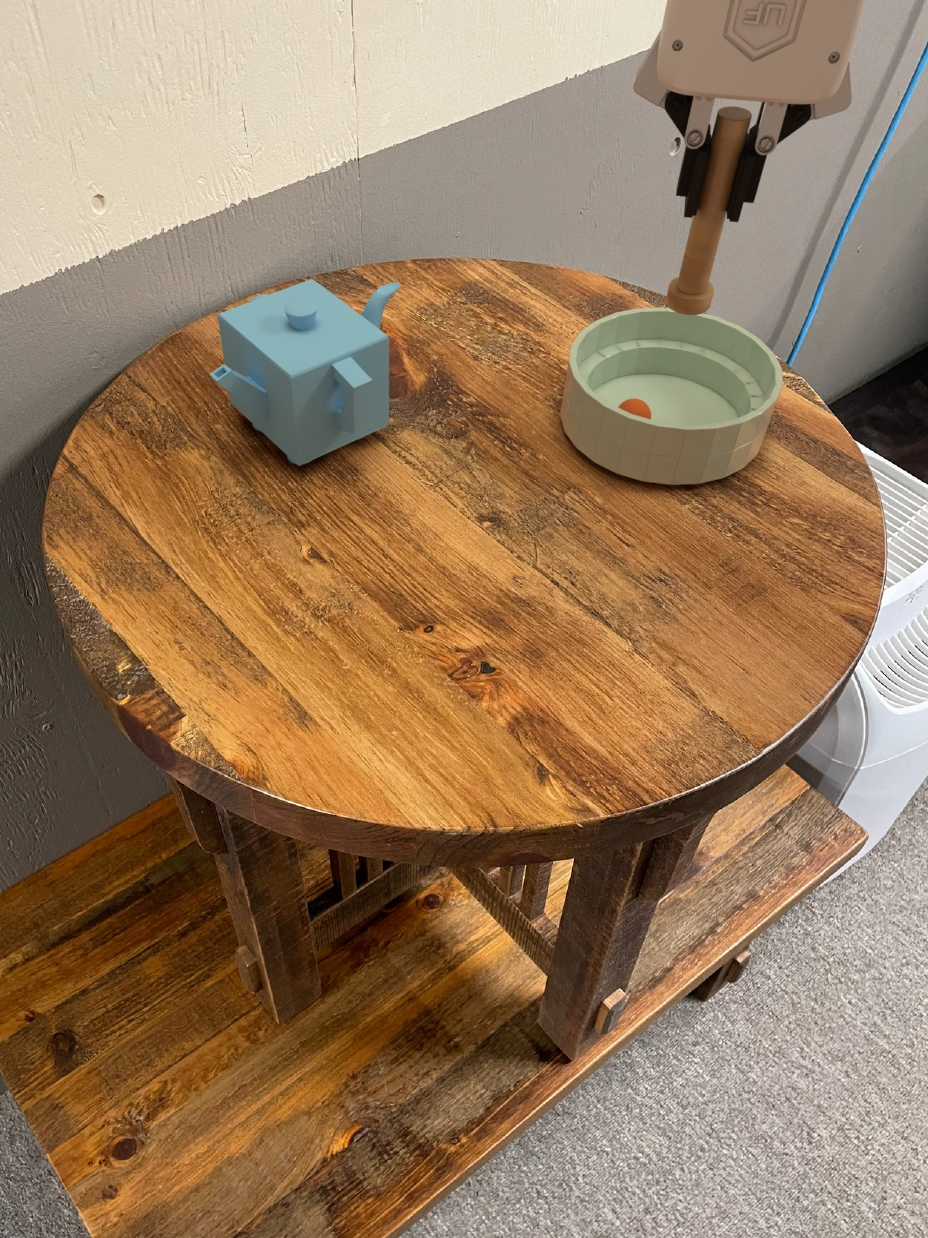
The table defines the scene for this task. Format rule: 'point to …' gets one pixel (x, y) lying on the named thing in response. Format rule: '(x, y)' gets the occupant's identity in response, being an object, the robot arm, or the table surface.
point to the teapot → (307, 367)
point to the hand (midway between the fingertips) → (711, 207)
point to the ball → (636, 408)
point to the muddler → (710, 214)
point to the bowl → (669, 395)
